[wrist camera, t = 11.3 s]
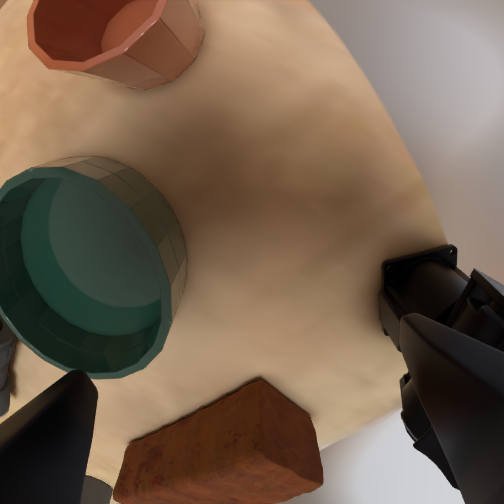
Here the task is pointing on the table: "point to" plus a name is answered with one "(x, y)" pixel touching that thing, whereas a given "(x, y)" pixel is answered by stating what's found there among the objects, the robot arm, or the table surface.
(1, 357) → the flashlight
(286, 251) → the table surface
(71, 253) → the planter
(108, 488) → the bottle
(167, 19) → the small pot
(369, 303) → the table surface
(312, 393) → the table surface
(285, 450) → the brick
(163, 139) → the table surface
